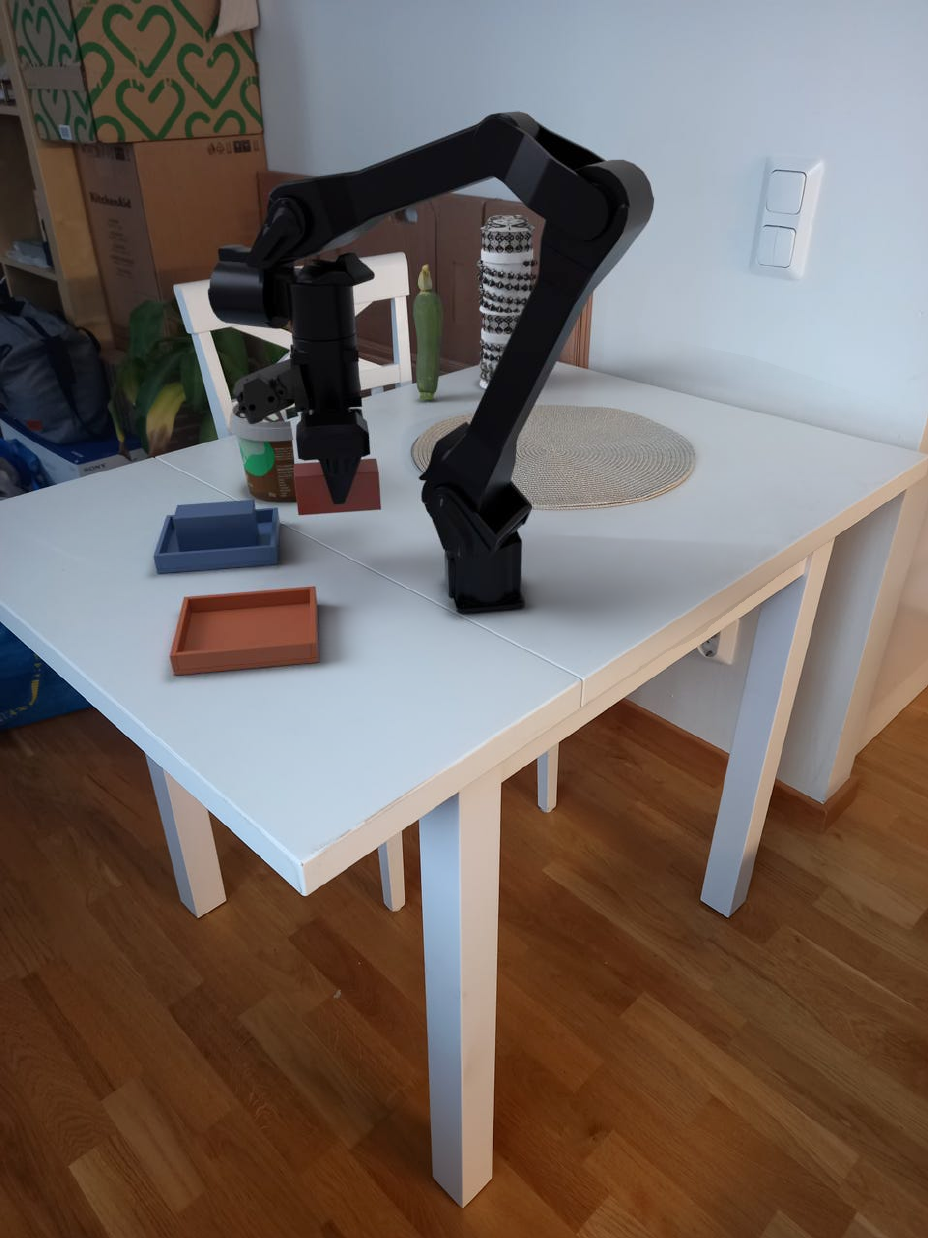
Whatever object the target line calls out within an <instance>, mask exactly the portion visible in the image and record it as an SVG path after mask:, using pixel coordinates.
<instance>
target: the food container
mask: <svg viewBox="0 0 928 1238" xmlns="http://www.w3.org/2000/svg"><path fill="white" fill-rule="evenodd" d="M238 407H239V404H238V402H237V403H236V404H234V406H233V407H232V409H231V412H230V415H229V426H228V427H229V428H228V429H229V431H230V432H231V433H232V434H233V435H234V436H236V439H237V442H238V446H239V451H240V455H241V460H242V461H241V462H242V465H243V469H244V473H245V478H246V483H247V487H248V491H249V494H250V495H251V496H252V497H253V498H255V499H257V500H261V501H263V502H270V503H291V502H297V500H296V491H295V482H294V464H296V463H295V456H294V455H295V454H294V445H293V441H294V436H293V429H292V427H291V426H292V425H291V420H287V421H286V420H285V419H284V417H283V414H282V413H281V411H279V412H276V413H274V414H272V415H269V416H267V417H265V418H264V419H263V421H261V422H258V423H256V424H249V422H248V421H247V419H246V417H245V415H244V414H243V413H241V412H240V411H239V409H238Z"/></svg>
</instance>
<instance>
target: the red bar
mask: <svg viewBox="0 0 928 1238" xmlns="http://www.w3.org/2000/svg"><path fill="white" fill-rule="evenodd" d="M294 482H295V491H296V500H297V501H296V507H297V515H298V516H310V515H324V514H325V515H326V514H327V515H328V514H340V513H352V512H353V513H354V512H365V511H366V512H367V511H368V512H369V511H380V510H381V509H382V506H381V502H382V501H381V490H380V489H381V488H380V472H379V467H378V462H377V458H376V457H375V458H361V461H360V463H359V466H358V468H357V471H356V474H355V476H354V479H353V482H352V485H351V488H350V490H349V493H348V496H347V499H346V502H345V503H344V504H334V503H333V501H332V498H331V495H330V492H329V489H328V486H327V483H326V480H325V477H324V474H323V471H322V468H321V465H320V463H319V461H313V462H298V463H297V462H296V463H295V464H294Z"/></svg>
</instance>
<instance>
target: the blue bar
mask: <svg viewBox="0 0 928 1238" xmlns="http://www.w3.org/2000/svg"><path fill="white" fill-rule="evenodd" d="M255 502H256V501H255V499H242V500H241V499H240V500H229V501H214V502H213V501H211V502H201V503H185V504H184V503H183V504H177V505H176V507H175V511H174V514H173V515H174V517H173V522H174V528H175V533H176V538H177V543H178V548H179V552H188V551H201V550H214V549H228V548H241V547H254V546H258V539H259V528H258V522H257V515H256V509H257V508H256V503H255Z"/></svg>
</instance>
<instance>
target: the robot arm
mask: <svg viewBox="0 0 928 1238" xmlns="http://www.w3.org/2000/svg"><path fill="white" fill-rule="evenodd" d="M494 178H495V179H497V180H498V181H500V182H501V183H502V184H504V185H505V187H507V188H508V190H510V191H511V192H512V193H513V195H515V196H516V198H518V200H519V201H520V202H521V203H522V204H523V205H524V206H525V207H526V208H528V209H529V210H530V211H532V212H534V213H535V214H536V215H538V216H539V217H540V218H542V219H544V220H545V221H544V224H543V229H542V232H541V236H540V242H539V253H538V265H537V266H538V268H537V274H536V276H537V277H536V279H535V282H534V283H533V284H534V286H533V288H532V290H531V291H530V295H529V297H528V299H527V301H526V303H525V306H524V308H523V310H522V312H521V314H520V316H519V319H518V321H517V323H516V325H515V327H514V329H513V332H512V334H511V336H510V338H509V340H508V342H507V345H506V347H505V349H504V351H503V353H502V355H501V358H500V360H499V362H498V364H497V366H496V368H495V371H494V373H493V375H492V377H491V379H490V381H489V384H488V386H487V388H486V389H485V390H484V392H483V394H482V397H481V399H480V401H479V403H478V405H477V407H476V410H475V412H474V413H473V416H472V419H471V421H470V423H469V422H467V421H464V422H462V423H461V424H460V425H458V426H457V427H455V428H454V429H452V430H451V431H450V432H447V434H445V435H443V436H442V437H441V438H439V439H438V440H436V441H435V444H434V446H433V448H432V451H431V456H430V460H429V463H428V466H427V468H426V469H425V471H424V472H422V474H421V475H419V476H418V480H419V481H422V482H423V481H424V483H423V485H422V488H421V493H420V495H421V496H420V497H421V498H420V499H421V502H422V503H423V505H424V506H425V511H426V512H427V514H428V515H429V517H430V518H431V520H432V523H433V525H434V528H435V531H436V534H437V536H438V539H439V543H440V544H441V548H442V550H443V551H444V580H445V581H444V582H445V589H446V592H447V596H448V597H449V599H450V600H453V604H454V607H455V611H456V613H459V614H468V613H480V612H490V611H502V610H503V611H504V610H514V609H522V608H525V606H526V600H525V598H524V595H523V593H522V564H523V563H522V562H523V561H522V560H523V557H522V555H523V540H522V538H521V535H520V533H519V531H518V530H520V528H521V527H522V526H525V524H526V523H528V522H527V521H528V519H529V517H530V515H531V512H532V510H533V504H532V503H531V502H530V501H529V500H528V498H527V496H525V495H524V494H523V492H522V491H521V490H520V489H519V487H517V486H516V484H515V483H514V482H513V481H512V476H513V473H514V470H515V467H516V462H517V445H518V439H519V437H520V435H521V432H522V430H523V428H524V426H525V424H526V422H527V420H528V418H529V417H530V414H531V413H532V410H533V409H534V407H535V405H536V403H537V401H538V399H539V397H540V395H541V393H542V391H543V389H544V387H545V385H546V383H547V382H548V379H549V377H550V375H551V373H552V371H553V370H554V367H555V365H556V363H557V362H558V359H559V358H560V356H561V354H562V352H563V350H564V348H565V346H566V344H567V341H568V340H569V338H570V336H571V334H572V332H573V330H574V328H575V326H576V324H577V322H578V320H579V318H580V316H581V314H582V313H583V311H584V309H585V306H586V304H587V303H588V301H589V299H590V296H591V295H592V294H593V293H594V291H595V290H596V289H597V288H598V287H599V286H600V284H601V283H602V282H603V280H605V279H606V277H607V276H608V275H609V274H610V272H611V271H613V269H614V268H615V267H616V266H617V264H618V263H619V262H620V261H621V260H622V259H623V257H624V256H625V254H626V253H627V252H628V250H629V249H630V248H631V246H632V245H633V244H634V242H635V241H636V240H637V238H639V236H640V235H641V233H642V232H643V231H644V229H645V228H646V226H647V225H648V223H649V221H650V219H651V218H652V214H653V211H654V204H655V197H654V194H653V190H652V186H651V182H650V180H649V179H648V176H647V175H646V173H645V172H644V171H643V170H642V168H640V167H639V166H638V165H636V164H635V163H634V162H631V161H628V160H625V159H610V160H609V159H608V160H606V159H605V158H604V157H602V156H600V155H599V154H597V153H596V152H595V151H592V150H590V149H589V148H587V147H585V146H583V145H581V144H579V143H577V142H575V141H573V140H570V139H569V138H567V137H565V136H562V135H561V134H558V133H557V132H554V131H552V130H550V129H549V128H547V127H546V126H545V125H543V124H542V123H540V122H538V121H537V120H535V118H533V117H532V116H531V115H530V114H528V113H526V112H524V111H523V112H522V111H518V110H517V111H506V112H497V113H490V114H489V115H486V116H485V117H484V118H483V119H482V120H480V121H479V122H477V123H475V124H473V125H471V126H468V127H466V128H463V129H460V130H458V131H455V132H453V133H451V134H448V135H446V136H445V135H444V136H443V137H440V138H438V139H435V140H432V141H430V142H428V143H425V144H423V145H420V146H418V147H414V148H412V149H410V150H407V151H405V152H402V153H399V154H397V155H395V156H392V157H389V158H386V159H384V160H381V161H378V162H377V163H374V164H371V165H369V166H367V167H363V168H361V169H359V170H352V171H345V172H338V173H337V172H336V173H329V174H323V175H317V176H311V177H305V178H297V179H291V180H285V181H282V182H280V183H277V184H276V185H275V186H274V187H272V189H271V190H270V191H269V193H268V201H267V205H266V206H267V207H266V217H265V218H264V221H263V222H262V225H261V227H260V230H259V232H258V234H257V236H256V238H255V240H254V243H253V245H252V246H251V247H249V246H245V245H243V244H232V243H231V244H227V245H223V246H219V247H218V248H217V256H218V262H217V263H216V265H215V266H214V267H213V270H212V272H211V275H210V279H209V288H207V297H208V302H209V306H210V308H211V311H212V312H213V314H214V315H215V317H216V318H217V319H218V320H219V321H220V322H222V323H225V324H230V325H238V326H239V325H240V326H246V327H256V328H265V329H272V330H273V329H274V330H280V329H283V328H284V327H286V326H287V325H288V324H290V331H291V340H292V342H291V343H292V344H290V345H289V346H290V347H289V348H290V353H289V358H286V359H285V360H282V361H280V362H279V361H278V362H275V363H273V364H271V365H269V366H266V367H264V368H261V369H259V370H256V371H254V372H252V373H250V374H247V375H245V376H243V377H241V378H239V379H238V380H236V381H235V383H234V385H233V386H234V387H233V391H232V394H233V396H234V398H235V400H236V402H237V403H238V404H239V407H238V409H239V411H240V412H241V413H243V414H244V415H245V417H246V419H247V421H248V422H249V424H256V423H258V422H261V421H263V419H264V418H265V417H267V416H269V415H272V414H274V413H276V412H279V411H280V412H281V411H284V410H286V409H288V408H290V407H291V406H293V405H294V411H295V413H300V421H299V422H298V423H297V424H296V426H295V443H296V452H297V459H298V460H302V461H318V462H319V463H320V465H321V468H322V471H323V474H324V477H325V480H326V483H327V486H328V489H329V492H330V495H331V498H332V501H333V503H334V504H344V503H345V502H346V499H347V496H348V493H349V490H350V488H351V485H352V482H353V479H354V476H355V474H356V471H357V468H358V466H359V463H360V461H361V459H363V458H364V457H368V456H370V455H371V444H370V443H371V441H370V432H369V425H368V420H366V419H365V418H364V415H363V409H361V408H363V398H362V384H361V380H360V367H359V362H360V357H359V356H360V355H359V347H358V340H357V339H358V338H357V327H356V314H355V312H356V311H355V297H354V287H355V286H356V287H357V286H358V285H361V284H364V283H368V282H370V281H373V280H374V279H375V277H376V274H375V271H373V270H372V269H371V268H370V267H369V265H367V264H366V263H364V262H363V261H362V260H361V259H360V257H359V256H358V255H357V253H356V252H355V251H349V252H346V253H342V254H339V255H338V257H337V258H336V259H335V260H332V259H321V258H320V259H319V258H314V259H313V257H315V256H318V255H320V254H322V253H323V252H327V251H330V250H334V249H338V248H342V247H344V246H347V245H349V244H351V243H352V242H353V241H355V240H357V239H358V238H360V237H362V236H364V234H367V233H368V232H369V231H371V230H372V229H374V228H375V227H376V226H377V225H378V224H379V223H381V222H382V221H383V220H385V219H386V218H388V217H389V216H391V215H393V214H395V213H398V212H400V211H403V210H406V209H410V208H412V207H415V206H418V205H420V204H424V203H426V202H430V201H432V200H435V199H438V198H440V197H443V196H447V195H449V194H452V193H455V192H457V191H461V190H464V189H466V188H469V187H472V186H474V185H477V184H480V183H483V182H486V181H489V180H492V179H494ZM308 258H312V259H311V260H308V261H307V262H305V264H304V265H303V266H302V267H295V262H297V261H301V260H304V259H308ZM289 322H290V323H289Z"/></svg>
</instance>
